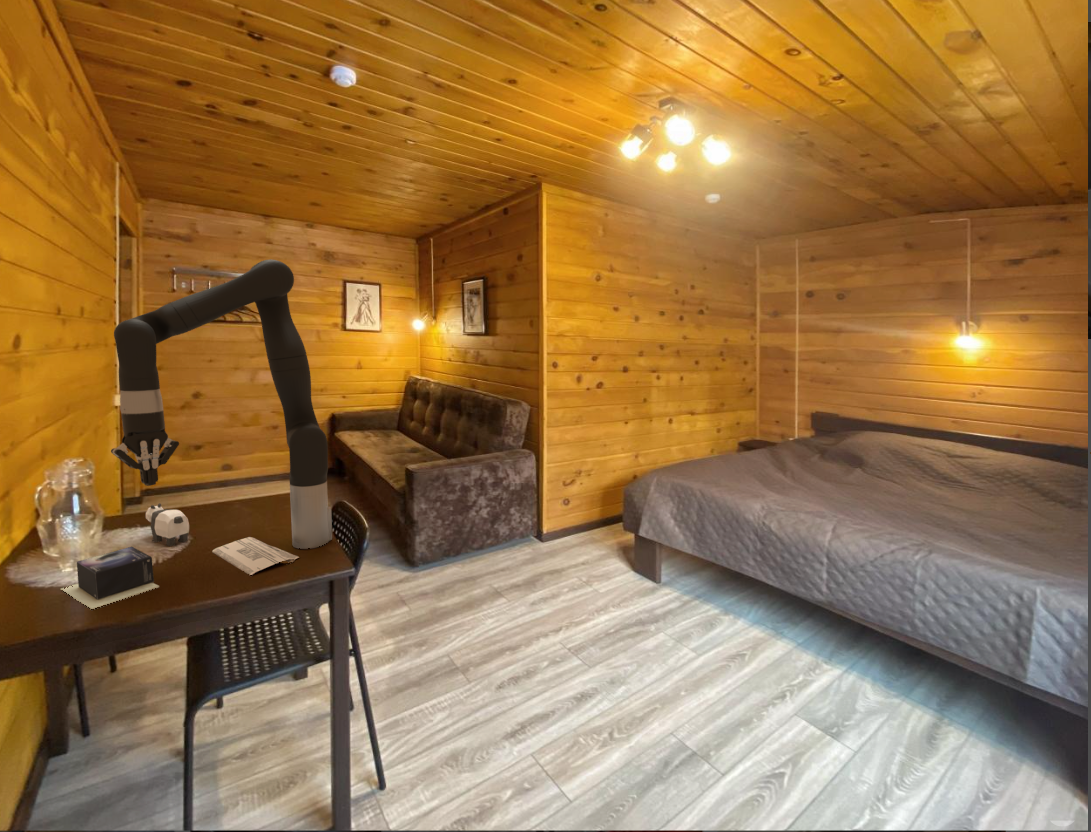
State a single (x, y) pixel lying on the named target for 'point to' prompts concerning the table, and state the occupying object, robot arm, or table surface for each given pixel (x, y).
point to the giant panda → (167, 524)
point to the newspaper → (252, 555)
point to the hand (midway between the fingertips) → (150, 484)
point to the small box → (114, 572)
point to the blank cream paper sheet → (94, 603)
